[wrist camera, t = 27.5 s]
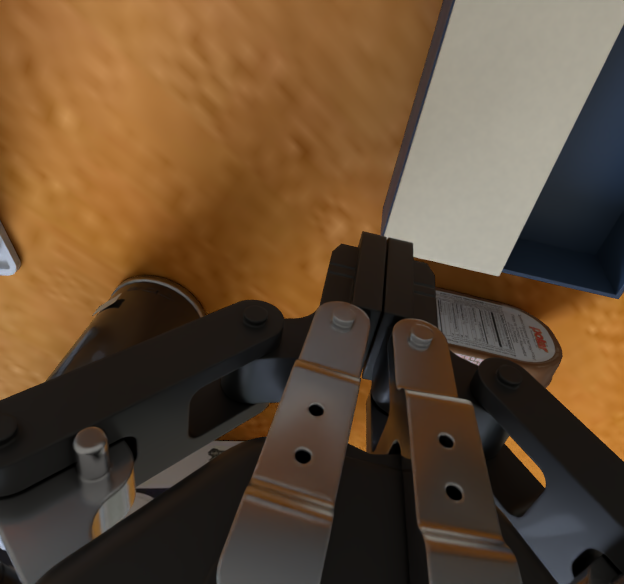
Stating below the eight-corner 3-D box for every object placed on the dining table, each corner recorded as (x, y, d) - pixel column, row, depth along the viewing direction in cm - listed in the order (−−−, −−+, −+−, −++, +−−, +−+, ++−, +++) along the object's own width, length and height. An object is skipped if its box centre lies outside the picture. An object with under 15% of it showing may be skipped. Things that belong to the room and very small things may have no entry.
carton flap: (498, 273, 35) (499, 276, 34) (380, 246, 35) (380, 249, 34) (645, -25, 24) (647, -25, 24) (474, -63, 24) (475, -63, 24)
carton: (596, 257, 39) (618, 299, 35) (382, 208, 39) (379, 244, 35) (757, -4, 28) (818, 11, 24) (463, -69, 29) (472, -65, 24)
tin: (366, 295, 44) (359, 363, 38) (375, 266, 42) (369, 332, 36) (537, 335, 44) (560, 410, 37) (554, 307, 42) (581, 381, 35)
